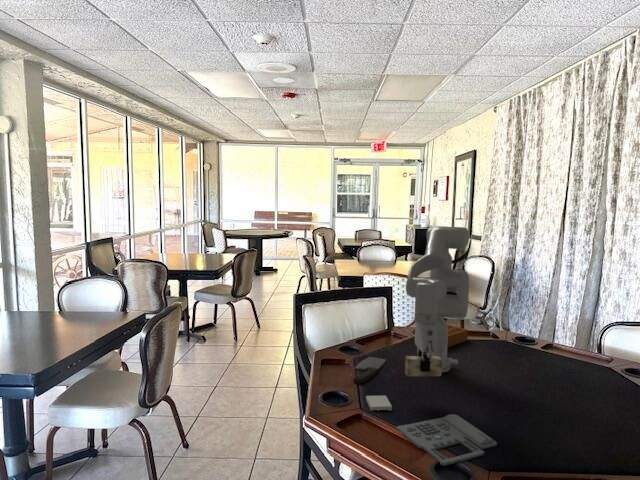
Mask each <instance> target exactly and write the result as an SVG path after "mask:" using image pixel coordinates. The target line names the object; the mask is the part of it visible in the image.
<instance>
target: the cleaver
mask: <svg viewBox="0 0 640 480" xmlns="http://www.w3.org/2000/svg"><path fill="white" fill-rule="evenodd" d="M386 361H387V359H386V358H380V357H374V356H368V357H366V358H365V359H363V360H361V361H360V362H358V364H357V365H356V366H355V367H354V369H355V370H358V371H363V372H362V373H361V374H360V375H359V376H357V377H354V378H353V382H354V383H355V384H358V385H359V384H360V385H362V384H363V383H365V382H367V381H368V380H370V379H371V378H373V377H374V376H375V375H377V373H378V371H379V369H381V368H382V367H383V366H384V365H385V363H386Z"/></svg>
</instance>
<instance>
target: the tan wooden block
mask: <svg viewBox="0 0 640 480" xmlns="http://www.w3.org/2000/svg"><path fill="white" fill-rule="evenodd" d="M404 357H405V359H404V360H405V361H404V363H405V364H404V374H405V376H407V377H441V376H442V373H441V372H442V359H441V358H440V357H439V356H432V357H431V361H430V371H429V372H421V371H420V366H421V360H422V356H419V355H405V356H404Z"/></svg>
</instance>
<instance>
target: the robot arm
mask: <svg viewBox="0 0 640 480" xmlns="http://www.w3.org/2000/svg"><path fill="white" fill-rule="evenodd" d="M469 241H470V233H469V229H468V228H467V227H465V226H464V227H462V226H461V227H460V226H443V225H441V226H440V225H439V226H438V225H437V226H431V227H428V228H427V230H426V248H425V251H424V255H423V256H421V257H420V258H419V259H417V260H416V261H415V262H413V264H412V265H411V266H410V268H409V270H408V274H407V278H406V283H405V293H406V294H407V295H408V296H409V297H411V298H414V299H415V301H414V317H413V318H414V320H413V321H414V322H415V330H414V344H415V346H416V350H417V351H416V356H422V360H421V366H420V371H421V372H429V371H430V361H431V357H432V356H439V357H440V358H441V359H442V372H441V374H443V373H447V372H449V371H450V370H451V365H458V364H459V360H458V359H453V357H448V348H447V344H448V326H447V325H448V323H447V322H446V319H444V318H447V319H457V320H459V319H460V320H463V319H465V318H466V317H467V315H468V311H469V295H470V277H469V276H470V275H469V274H468V272H467V271H466V270H463V269H455V268H454V269H452V267H453V266H452V265H453V257H452V254H451V253H450V252H449V250H452V249H453V250H464V249H465V248H466V247H467V246H468V244H469ZM429 271H430V274H429V277H420V275H421V274H423V273H426V272H429ZM448 292H452V293H455V294H447V293H448Z"/></svg>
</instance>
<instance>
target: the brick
mask: <svg viewBox="0 0 640 480" xmlns="http://www.w3.org/2000/svg"><path fill="white" fill-rule="evenodd" d="M447 326H448V344H447V349H448V348H450V347H452V346H455V345H458V344H462V343H465V342H467V341H468V336H469V335H468V331H469V330H468V329H466V328H463V327H460V326H459V327H458V326H456V325H455V326H454V325H451V324H447Z"/></svg>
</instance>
